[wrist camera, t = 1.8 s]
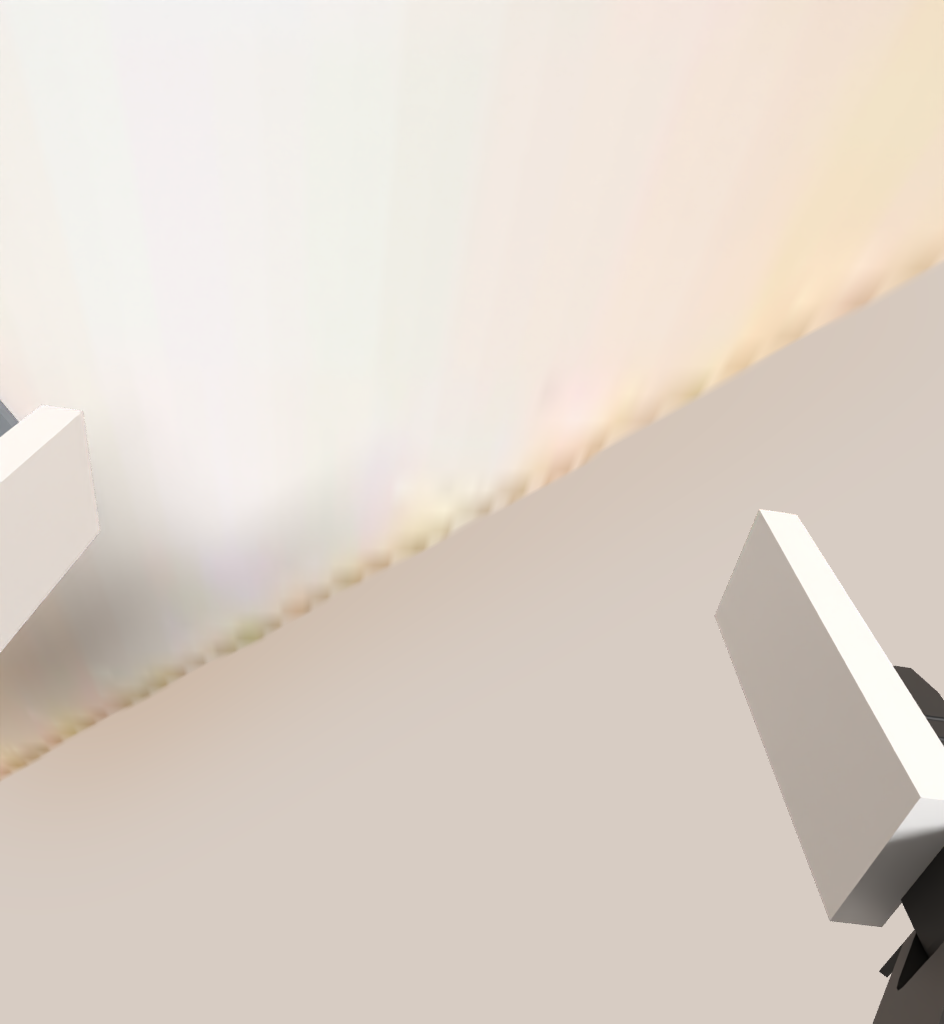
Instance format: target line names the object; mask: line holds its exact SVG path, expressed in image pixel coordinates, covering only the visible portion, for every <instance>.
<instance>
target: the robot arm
mask: <svg viewBox="0 0 944 1024" xmlns="http://www.w3.org/2000/svg"><path fill="white" fill-rule="evenodd" d="M99 532H100V525H99V518H98V511H97V504H96V497H95V490H94V483H93V476H92V469H91V462H90V455H89V448H88V441H87V434H86V427H85V421H84V414H83V411H81V410H74V409H67V408H60V407H54V406H47V405H41V406H39V407H38V408H37V409H36V410H34V411H33V412H32V413H30V414H29V415H28V416H27V417H25V418H24V419H23V420H21V421H20V422H19V423H18V424H16V425H15V426H14V427H13V428H11V429H10V430H9V431H7V432H6V433H5V434H4V435H2V436H1V437H0V653H1V651H2V650H3V649H4V648H5V646H6V645H7V644H8V643H9V642H10V640H11V639H12V638H13V637H14V636H15V634H16V633H17V632H18V631H19V629H20V628H21V627H22V626H23V625H24V623H25V622H26V621H27V620H28V619H29V617H30V616H31V615H32V614H33V612H34V611H35V610H36V609H37V608H38V606H39V605H40V604H41V603H42V602H43V600H44V599H45V598H46V597H47V596H48V594H49V593H50V592H51V591H52V589H53V588H54V587H55V586H56V585H57V583H58V582H59V581H60V580H61V579H62V577H63V576H64V575H65V574H66V572H67V571H68V570H69V569H70V568H71V566H72V565H73V564H74V563H75V562H76V560H77V559H78V558H79V557H80V555H81V554H82V553H83V552H84V551H85V549H86V548H87V547H88V546H89V545H90V543H91V542H92V541H93V540H94V538H95V537H96V536H97V535H98V534H99ZM715 618H716V621H717V623H718V626H719V629H720V631H721V634H722V637H723V639H724V642H725V644H726V647H727V650H728V653H729V655H730V658H731V660H732V663H733V666H734V668H735V671H736V674H737V676H738V679H739V682H740V684H741V687H742V690H743V692H744V695H745V698H746V700H747V703H748V706H749V708H750V711H751V714H752V716H753V719H754V722H755V724H756V726H757V729H758V732H759V735H760V737H761V740H762V743H763V745H764V748H765V751H766V753H767V756H768V759H769V761H770V764H771V767H772V769H773V772H774V774H775V777H776V780H777V782H778V785H779V788H780V790H781V793H782V795H783V798H784V801H785V803H786V806H787V809H788V812H789V814H790V817H791V820H792V822H793V825H794V827H795V830H796V833H797V835H798V838H799V841H800V843H801V846H802V849H803V851H804V854H805V856H806V859H807V862H808V865H809V867H810V870H811V872H812V875H813V878H814V881H815V883H816V886H817V888H818V891H819V893H820V896H821V899H822V902H823V904H824V907H825V910H826V912H827V915H828V918H829V920H830V921H834V922H843V923H852V924H861V925H869V926H877V927H882V926H883V925H884V924H885V923H886V921H887V920H888V919H889V918H890V916H891V915H892V914H893V913H894V911H895V910H896V909H897V908H898V907H899V905H900V904H901V903H903V906H904V908H905V910H906V912H907V914H908V916H909V918H910V920H911V922H912V925H913V927H914V929H915V930H914V931H913V932H912V933H911V935H910V936H909V937H908V938H907V939H906V940H905V942H904V943H903V944H902V945H901V946H900V947H899V949H898V950H897V951H896V952H895V953H894V954H893V956H892V957H891V958H890V959H889V960H888V961H887V963H886V964H885V965H884V966H883V967H882V968H881V970H880V971H879V972H881V973H882V974H883V975H884V976H886V977H888V976H889V975H890V974H891V973H892V974H891V977H890V980H889V982H888V985H887V987H886V990H885V993H884V995H883V998H882V1000H881V1003H880V1006H879V1009H878V1011H877V1014H876V1016H875V1019H874V1022H873V1024H944V700H943V699H942V697H941V696H940V694H939V693H938V692H937V691H936V690H935V689H934V688H932V687H931V686H930V685H929V684H928V683H927V682H926V681H925V680H924V679H923V678H921V677H920V676H919V675H918V674H917V673H916V672H915V671H914V670H912V669H911V668H905V667H899V666H892V664H891V662H890V661H889V659H888V658H887V656H886V654H885V653H884V651H883V650H882V648H881V647H880V645H879V643H878V642H877V640H876V639H875V637H874V636H873V634H872V632H871V631H870V629H869V628H868V626H867V625H866V623H865V621H864V620H863V618H862V617H861V615H860V614H859V612H858V611H857V609H856V607H855V606H854V604H853V603H852V601H851V600H850V598H849V596H848V595H847V593H846V592H845V590H844V588H843V587H842V585H841V584H840V582H839V580H838V579H837V577H836V576H835V574H834V573H833V571H832V569H831V568H830V566H829V565H828V563H827V561H826V560H825V558H824V557H823V555H822V554H821V552H820V550H819V549H818V548H817V546H816V544H815V543H814V541H813V539H812V538H811V537H810V535H809V533H808V532H807V530H806V529H805V527H804V526H803V524H802V522H801V521H800V519H799V517H798V516H797V515H795V514H789V513H782V512H775V511H768V510H761V509H759V511H758V513H757V516H756V518H755V520H754V523H753V525H752V528H751V530H750V532H749V535H748V537H747V540H746V542H745V544H744V547H743V549H742V551H741V554H740V556H739V559H738V561H737V563H736V566H735V568H734V571H733V573H732V575H731V578H730V580H729V583H728V585H727V587H726V590H725V592H724V594H723V597H722V599H721V602H720V604H719V606H718V609H717V611H716V614H715Z"/></svg>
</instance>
